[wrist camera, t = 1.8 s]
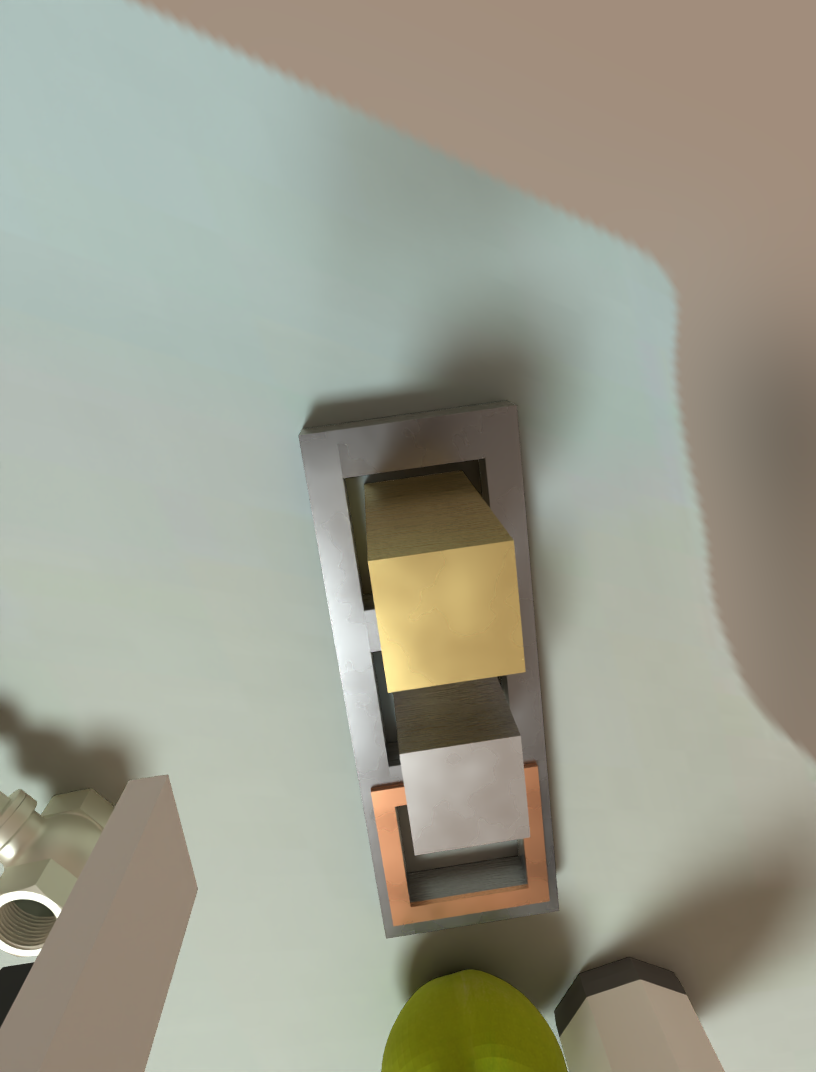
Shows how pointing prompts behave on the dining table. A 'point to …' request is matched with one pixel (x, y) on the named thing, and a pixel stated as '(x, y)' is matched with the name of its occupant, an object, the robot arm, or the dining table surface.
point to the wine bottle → (632, 1022)
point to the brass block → (441, 582)
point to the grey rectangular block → (461, 765)
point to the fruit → (471, 1029)
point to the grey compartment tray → (327, 463)
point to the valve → (43, 861)
